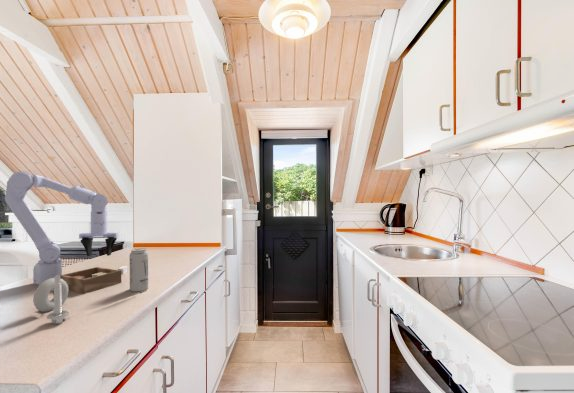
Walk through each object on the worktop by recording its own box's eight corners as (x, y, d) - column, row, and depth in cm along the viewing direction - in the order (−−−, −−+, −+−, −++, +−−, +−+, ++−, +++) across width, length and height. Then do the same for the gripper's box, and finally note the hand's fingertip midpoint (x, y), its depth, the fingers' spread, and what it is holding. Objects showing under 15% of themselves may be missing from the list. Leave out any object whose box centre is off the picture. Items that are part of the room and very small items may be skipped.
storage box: (59, 290, 111) (59, 275, 111) (97, 280, 124) (97, 267, 124) (84, 295, 105) (84, 279, 105) (121, 284, 118) (121, 270, 118)
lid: (95, 281, 124) (95, 272, 124) (111, 272, 139) (111, 264, 139) (135, 280, 126) (134, 271, 126) (146, 271, 141) (146, 262, 141)
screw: (44, 327, 80) (49, 320, 85) (66, 324, 82) (70, 317, 87) (43, 278, 80) (49, 273, 85) (65, 275, 82) (70, 271, 87)
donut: (40, 318, 86) (39, 283, 86) (30, 317, 87) (29, 282, 87) (71, 305, 96) (71, 274, 96) (62, 305, 97) (62, 273, 96)
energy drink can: (144, 293, 107) (144, 250, 107) (126, 294, 107) (126, 251, 107) (151, 288, 113) (150, 247, 113) (134, 288, 113) (133, 248, 113)
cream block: (91, 283, 117) (91, 274, 117) (102, 281, 120) (101, 272, 120) (98, 285, 115) (98, 275, 115) (108, 282, 119) (108, 273, 119)
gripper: (74, 223, 123) (74, 257, 123) (113, 223, 124) (113, 256, 124) (84, 222, 130) (84, 254, 130) (120, 221, 131) (120, 253, 131)
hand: (99, 255), depth 128 cm, fingers open, 7 cm apart
